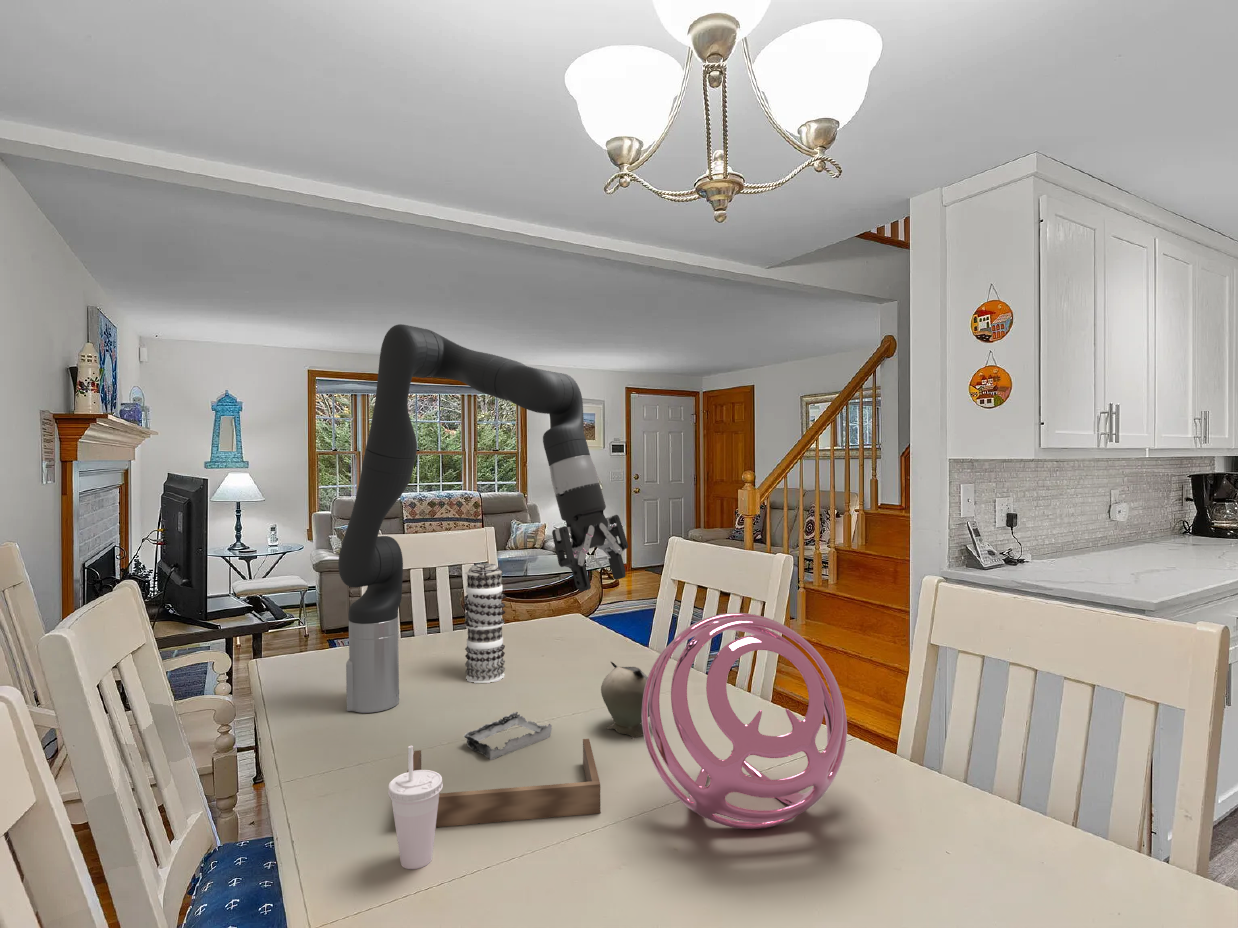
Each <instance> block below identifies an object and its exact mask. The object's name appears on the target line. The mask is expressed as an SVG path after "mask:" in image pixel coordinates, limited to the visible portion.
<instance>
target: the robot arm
mask: <svg viewBox="0 0 1238 928" xmlns="http://www.w3.org/2000/svg"><path fill="white" fill-rule="evenodd" d="M378 363H379V364H378V370H377V373H378V374H377V383H376V390H375V391H376V392H375V399H374V400H375V401H374V405H373V412H372V416H371V424H370V427H369V428H370V429H369V431H368V432H369V433H368V438H367V442H366V445H365V448H364V449H365V450H364V455H363V460H362V463H361V465H362V466H361V472H360V476H359V477H360V478H359V482H358V487H357V491H356V495H355V500H354V504H353V508H352V511H351V514H350V518H349V521H348V524H347V528H346V531H345V534H344V536H343V540H342V542H341V546H340V549H339V554H338V560H337V561H338V563H337V564H338V566H337V567H338V574H339V577H340V579H341V580H342V582H343V583H344V584H345V585H346V586H347V587H349V588H362V587H366V589H365V592H364V593H363V594H362V595H361V596H360V597H359V598H358V599H357V600H355V601H354V602H352V603H351V604H350V606H349V608H348V644H349V645H348V660H347V661H346V663H345V669H346V671H345V673H346V674H345V675H346V677H345V680H346V683H345V684H346V711H347V712H356V713H361V714H362V713H369V714H370V713H377V712H382V711H386V710H390V709H391V708H393V707H395V706H397V705H398V704H399V702H400V671H399V669H400V668H399V667H400V665H399V663H400V660H399V654H400V653H399V652H400V651H399V609H400V606H401V603H402V598H403V597H402V596H403V577H404V575H403V574H404V572H403V571H404V559H403V552H402V550H401V549H402V548H401V546H400V544H399V543H398V541H397V540H396V539H395V538H394V537H391V536H389V535H380V536H378V535H379V532H380V530H381V526H382V524H383V522H384V520H385V518H386V517H387V515H388V513H389V512H390V511H391V509H392V508H393V506H394V505H396V503H397V501H399V499H400V497H401V496H402V494H403V493H404V492H405V491H406V489H407V487H408V486H409V484H410V481H411V478H412V476H413V471H414V467H415V463H416V459H417V452H418V442H417V437H416V436H417V435H416V433H415V429H414V426H413V424H412V420H411V417H410V413H409V408H408V405H409V403H408V402H409V394H410V387H411V384H412V383H411V382H412V379H413V378H422V379H424V378H439V379H448V380H455V381H458V382H461V383H464V384H466V385H467V386H469V387H471V389H474V390H476V391H477V392H480V393H482V394H485V395H488V396H491V397H494V398H498V399H500V400H504V401H507V402H511V403H513V404H514V405H516V406H519V407H520V408H522V409H525V410H527V411H531V412H532V413H533V412H534V413H537V414H544V415H545V414H547V415H549V419H550V420H549V421H550V428H548V430H546V431H545V432H544V433H543V436H542V443H543V448H544V451H545V456H546V461H547V463H548V466H549V467H548V468H549V472H550V473H549V474H550V479H551V485H552V488H553V491H554V496H555V501H556V502H557V503H556V504H557V507H558V511H559V514H560V519H561V520H562V521H564V522H565V525H566V526H565V525H564V526H560V527H558V528H555V529H553V530H552V532H551V534H552V538H553V544H554V550H555V552H556V558H557V562H558V565H559V567H561V568H564V567H566V568H569V569H570V570H571V572H572V577H573V580H574V584H575V587H576V588H577V590H578V591H579V592H584V591H585V592H586V591H588V590H590V589H591V587H592V585H591V582H590V577H589V574H588V571H587V567H586V565H585V559H586V555H587V554H588V553H589V551H590V549H594V548H597V549H599V550H601V551H603V553H605V554H606V555H607V556H608V563H609V567H610V569H611V575H612V577H613V579H614V580H616V581H617V580H620V579H624V578H626V568H625V564H624V560H623V557H622V554H623V552H624V550H627V549H628V548H629V544H628V541H627V538H626V537H627V536H626V534H625V531H624V528H623V525H622V520H621V518H620V516H619V515H618V514H614V515H610V516H608V517H606V516H605V514H604V511H605V510H606V508H607V506H606V502H605V501H606V500H605V498H604V494H603V491H602V487H601V484H600V480H599V476H598V473H597V469H596V467H595V464H594V461H593V459H592V456H591V453H590V450H589V449H590V448H589V446H588V443H587V442H588V441H587V438H586V436H585V433H584V426H585V422H584V420H585V419H584V403H583V401H584V400H583V396H582V393H581V389H580V387H579V385H578V383H577V381H576V380H575V379H574V378H573V377H572V376H571V375H569V374H566V373H561V372H556V371H551V370H545V369H540V368H536V367H531V366H527V365H525V364H524V363H522V362H519V361H517V360H513V359H510V358H507V357H503V356H499V355H496V354H492V353H488V352H483V351H478V350H474V349H469V348H467V347H465V346H462V345H460V344H457V343H455V341H452V340H450V339H448V338H446V337H444V336H442V335H441V334H439V333H437V332H435V331H433V330H430V329H427V328H423V327H418V326H413V325H409V324H401V323H400V324H394V325H393V326H391V327H390V328H389V329H388V331H387V332H386V334H385V336H384V338H383V340H382V344H381V348H380V354H379V360H378ZM617 537H618V538H617ZM618 540H619V541H618Z"/></svg>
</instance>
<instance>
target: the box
mask: <svg viewBox="0 0 1238 928" xmlns="http://www.w3.org/2000/svg"><path fill="white" fill-rule="evenodd" d="M582 764H583V765H582V766H583V771H584V775H585V779H586V780H585V781H581V782H570V783H569V782H568V783H555V784H554V783H553V784H543V785H531V786H530V785H529V786H519V787H516V786H515V787H504V788H503V787H502V788H491V789H479V790H467V791H466V790H465V791H455V792H454V791H453V792H451V791H450V792H444V793H443V792H441V793H440V792H439V802H438V810H437V819H436V828H442V827H454V826H467V825H476V824H477V825H478V823H480V824H490V823H502V822H513V821H523V820H535V819H548V818H558V817H560V818H562V817H570V816H581V815H583V816H584V815H592V814H601V782H600V777H599V774H598V770H597V766H596V760H595V757H594V753H593V750H592V745H591V742H590V738H583V739H582ZM415 770H423V768H422V750H421V749H420V750H413V771H415ZM406 771H407V772H409V771H408V770H406Z"/></svg>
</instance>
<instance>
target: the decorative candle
mask: <svg viewBox="0 0 1238 928" xmlns="http://www.w3.org/2000/svg"><path fill="white" fill-rule="evenodd" d="M502 573H503V570H501V569H500V568H499V566H498V565H497V564H495V563H494V564H493V563H478V564H477V563H476V564H473V565H472V566H470V567H469V569H468V571H466V572H465V574H466V576H467V578H466V583H467V585H466V587H465V590H466V591H465V593H466V595H465V596H464V598H463V602H464V605H463V609H464V610H465V611H466V612H465V614H464V618H465V621H464V626H465V628H466V629H467V639H466V647H465V649H464V650H465V652H466V654H465V658H466V659H467V660H466V662H465V663H464V664H465V667H466V669H465V674H466V676H465V680H466V679H467V680H466V681H467V682H468V683H471V682H474V683H473V684H476V683H487V684H491V683H490V682H494V683H496V682H500V681H501V679H502V678H503V679H504V678H505V675H506V674H505V673H504V672H505V670H506V667H505V666H504V665H505V663H506V660H505V659H504V658H503V657H504V656H505V654H506V652H504V649H505V646H506V645H504V636H503V627H504V624H505V619H504V618H502V616H503V615H504V614H506V611H505V610H504V609H503V608H505V607H506V604H505V603H503V602H502V600H504V599H505V598H506V594H504V592H505V591H506V589H505V588H504V587H503V584H502V583H503V582H502V581H503V580H502V579H503V577H502ZM503 679H502V680H503Z"/></svg>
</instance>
